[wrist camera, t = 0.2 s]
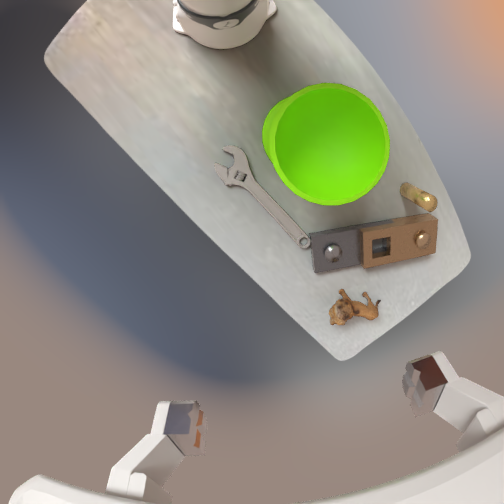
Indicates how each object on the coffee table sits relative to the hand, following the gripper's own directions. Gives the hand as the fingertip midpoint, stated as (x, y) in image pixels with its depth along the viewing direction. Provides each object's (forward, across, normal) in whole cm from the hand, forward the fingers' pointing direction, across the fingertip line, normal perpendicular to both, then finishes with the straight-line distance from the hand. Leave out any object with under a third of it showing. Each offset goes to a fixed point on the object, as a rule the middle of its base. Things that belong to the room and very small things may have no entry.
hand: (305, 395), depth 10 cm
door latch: (+48, -22, +18) cm, 55 cm away
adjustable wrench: (+48, 0, +6) cm, 49 cm away
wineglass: (+48, -10, -5) cm, 49 cm away
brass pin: (+48, -30, +8) cm, 57 cm away
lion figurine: (+48, -16, +32) cm, 60 cm away
